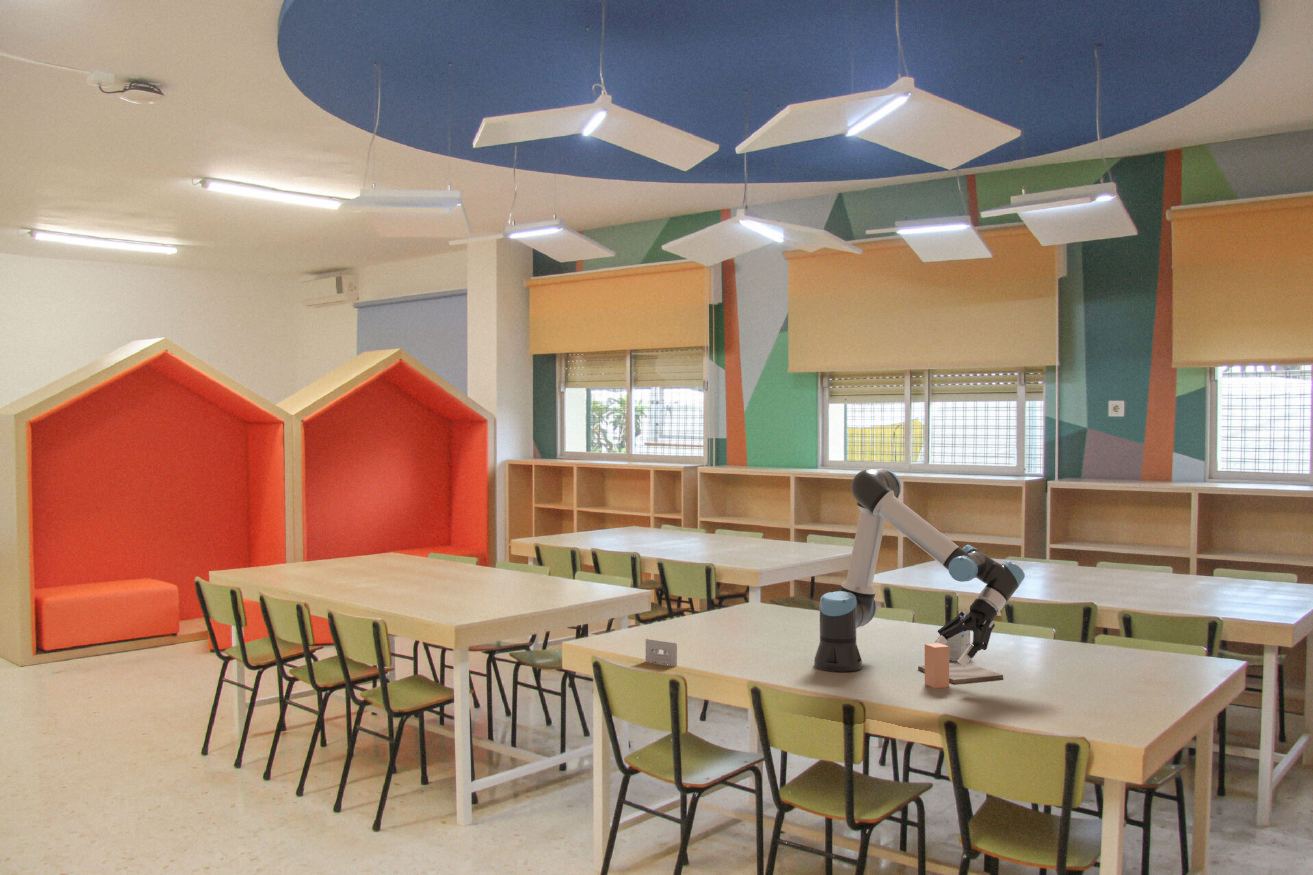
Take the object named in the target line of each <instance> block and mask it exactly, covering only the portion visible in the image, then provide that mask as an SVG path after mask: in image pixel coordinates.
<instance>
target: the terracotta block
mask: <svg viewBox="0 0 1313 875" xmlns="http://www.w3.org/2000/svg"><path fill="white" fill-rule="evenodd" d="M949 663H950V661H949V646H946V645H943V644H940V643H935V642H934V643H925V644H924V666H925V672H924V685H925V684H926V685H925V686H928V687H930V686H931V688H932V689H942V688H950V682H949Z"/></svg>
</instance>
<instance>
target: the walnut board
mask: <svg viewBox="0 0 1313 875" xmlns="http://www.w3.org/2000/svg"><path fill="white" fill-rule="evenodd" d="M917 670H918V671H920V672H922V671H923V673H925V665H918V666H917ZM1003 679H1004V674H1002V673H999V672H997V671H992V670H991V669H987V668H985V667H981V666H978V665H975V664H972V663H969V662H968V664H967V665H966V666H965V668H964V667H962V666H961V665H960V664H959V663H958V662H949V683H951V684H955V685H956V684H963V683H964V684H965V683H966V682H967V683H977V682H984V681H985V682H986V681H996V680H1003Z"/></svg>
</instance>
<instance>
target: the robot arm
mask: <svg viewBox="0 0 1313 875" xmlns="http://www.w3.org/2000/svg"><path fill="white" fill-rule="evenodd" d="M900 481H901V480H900V479H899V477H898V476H897V475H896V474H895V472H893V471H891V470H889V469H885V468H873V469H869V468H867V469H864V470H861V471H859V472H858V473H856V475H855V476H854V477H853V479H852V481H851V484H850V485H851V486H850V487H851V489H850V490H851V493H852V496H853V498H854V499H855V501H856V502H857V503H856V507H857V508H858V510H859V511H860V512H859V516H858V521H857V525H856V526H857V528H856V531H855V536H854V541H853V546H852V551H851V556H850V560H849V566H848V572H847V576H846V579H845V580H844V581H842V582H841V583H840V587H839V590H837V591H833V592H830V591H829V592H826V593H824V594H822V595H821V596H820V599H819V606H818V609H819V643H818V646H817V650H816V653H815V656H814V661H813V662H814V667H815V668H817V669H819V670H823V671H827V672H828V671H829V672H835V671H839V672H840V673H847V672H846V671H850V672H857V671H860V670H862V668H863V660H862V656H861V654H860V650H859V648H858V644H857V629H858V628H861V627H864V626H866V625H867V624H869V622H871V621H872V620H873V618H874V617H875V616H876V612H877V601H876V599H875V598H876V597H875V596H876V592H877V591H876V589H875V588H874V586H873V584H874V579H875V574H876V568H877V564H878V558H879V554H880V549H881V545H882V539H883V535H884V530H885V524H886V522H888V523H889V524H890V525H891V526H893V527H894V529H896V530H897V531H899V532H900V533H901V534H902V535H904V536H905V537H906V538H908V540H910V541H911V542H912V543H914V544H915V545H916V546H917V547H919V548H920V549H921V550H923V551H924V552H925V553H927V554H928V555H929V556H930V558H932V559H934V560H935V561H936V562H938V563H939V564H940V565H942V566H943V567H944V568H945V569H946V570H947V571H948V573H949V575H950V576H951V578H952V579H953V580H955V581H957V582H960V583H964V582H970V581H972V580H974V579H975V578H976V579H978V580H979V581H981V582H982V583H984V584H985V586H984V587H983V589H982V590H981V591H980V593H979V594H978V595H977V596H976V598H975V599H974V600H973V602H972V603H971V604H970V606H969V612H968V613H967V614H966V613H964V612H963V611H960V612H959V613H958V615H956V616H955V617H954V618H952V619H951V620H949V622H947V623H946V624H945V625H943V626H942V627H940V628H939V629H938V630H937V633H938V634H939V636H938V638H937V639H936V640H935V642H934V643H940V644H943V645H946V643H947V642H948V639H949V638H951V637H953V636H955V635H957V634H959V633H960V632H962V631H967V630H969V631H970V632H972V634H973V635H972V642H971V643H970V645H969V646H968V648H967V649H966V650H965V652H964V653H963V654H962V656H961V657H960V658H959V660H958V662H957V663H959V664H960V665H961V666H962V667H964V668H965V666H966V665H967V664H968V663H969V662H970V661H971V660H972V659H973V658H974V657H975V656H976V654H977V653H978V652H980V651H981V650H983V651H985V650H987V649H988V646H989V641H990V638H991V634H992V631H993V629H994V628H995V627H996V626H995V625H996V624H995V622H993V621H994V619H995V618H996V617H997V615H998V613H1000V611H1001V610H1002V609H1003V608H1004V606H1005V604H1006V603H1007V602H1008V601H1009V600H1010V598H1012V596H1013V595H1014V593H1015V592H1016V591H1017V589H1018V588H1019V587H1020V585H1021V584H1022V582H1023V581H1024V579H1025V572H1024V570H1023V569H1022V568H1021V566H1019V565H1017V564H1016V563H1014V562H1012V561H1008V560H1006V561H1004V562H1003V563H999V562H997V561H996V560H994V559H992V558H991V557H990V556H988V555H987V554H985V553H983V552H982V551H981V550H979V549H978V548H975V547H974V546H972V545H970V544H967V545H964V546H963V547H962V548H961V547H960V546H959V545H957V544H956V543H955V542H954V541H953V540H951V539H950V538H949V537H947V536H946V535H945V534H943V533H942V532H941V531H939V530H938V529H937V528H936V527H934V526H933V525H932V524H931V523H929V521H927V520H925V519H924V518H923V517H921V516H920V515H919V514H918V513H916V512H915V511H914V510H913V509H912V508H910V507H909V506H908V505H906V504H905V503H903V502H902V501H901V500H900V499H899V496H900V494H901V491H902V484H901V482H900ZM963 624H964V625H963ZM946 635H947V636H946ZM859 669H860V670H859Z"/></svg>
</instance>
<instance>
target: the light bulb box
mask: <svg viewBox="0 0 1313 875" xmlns="http://www.w3.org/2000/svg"><path fill="white" fill-rule="evenodd" d="M963 625H964V623H963ZM946 636H947V635H946ZM970 644H971V631H969V630H967V631H962V632H960V633H959V634H957V635H955V636H953V637H951V638H949V639H948V642H947V643H946V646H949V660H952V661H951V662H956V661H957V662H956V663H958V660H959V658H960V657H961V656H962V654H963V653H964V652H965V650H966V649H967V648H968V646H969V645H970Z"/></svg>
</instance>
